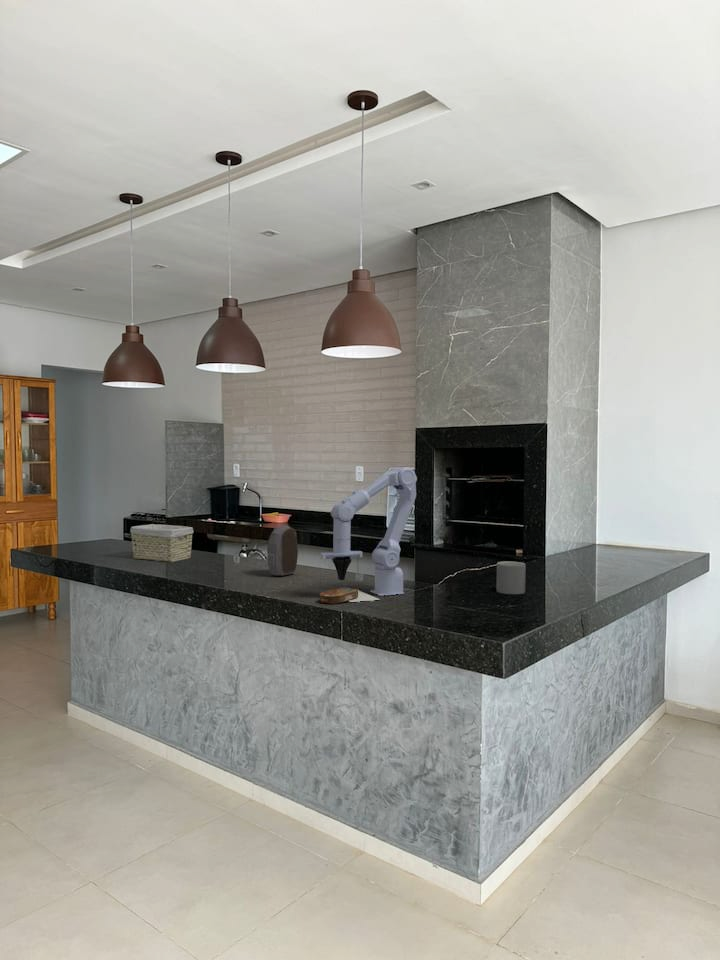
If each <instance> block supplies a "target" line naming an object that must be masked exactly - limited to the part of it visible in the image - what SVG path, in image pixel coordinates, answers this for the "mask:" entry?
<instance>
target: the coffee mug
mask: <svg viewBox="0 0 720 960" xmlns="http://www.w3.org/2000/svg"><path fill="white" fill-rule="evenodd" d="M495 590H496V592H497V593H500V594H504V595H522V594H525V593H526V563H525V562H521V561H519V562H518V561H511V560H510V561H507V560H506V561H498V562H496V589H495Z"/></svg>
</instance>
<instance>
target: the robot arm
mask: <svg viewBox="0 0 720 960" xmlns="http://www.w3.org/2000/svg"><path fill="white" fill-rule="evenodd" d="M417 481H418V477H417V475H416V473H415V472H414V470H413V469H412V468H410V467H396V466H395V467H392V468H390V469H389V470H387V471H385V472H384V473H383V474H382V475H381V476H380V477H378V478H376V480H374V481H373V482H372V483H371V484H370V485H368V486H367V487H366V488H364V490H363V489H358V490H356V489H355V490H353V491H352V494H350V495H349V496H348V497H347V498H343V499H341V502H338V503H336V504H334V505H333V506H332V509H331V510H330V516H331V517H332V518H333V526H332V527H333V533H332V535H333V538H332V539H333V540H332V542H333V543H332V544H333V547H332V551H328V552H320V559H321V560H329V559H330V560H331V561H332V563H333V564H334V567H335V569H336V573H337V578H338V580H340V581H345V579H346V575H347V571H348V569H349V566H350V565H351V563H352V558H363V551H361V550H351V530H352V529H351V528H352V527H351V523H352V521H351V520H353V518H354V515H355V514H356V513H357V512H359V511H360V510H362V509H363V508H364V507H365V506H367V505H369V503H370V498H372V497H373V496H375V495H377V494H378V493H379V492H381V491H383V490H384V489H386V488H387V487H393V488H394V489H395V490H396V491H397V495H398V496H399V497H398V500H397V503H396V505H395V508H394V510H393V513H392V516H391V519H390V520H389V521H390V522H389V524H388V527H387V530H386V532H385V535H384V538H383V539H381V540H380V541H379V543H378V544H377V546H376V548H375V549H374V550H373V551H372V553H371V559H372V562H373V563H374V589H373V590H370V591H369V593H372V594H374V595H376V594H377V595H376V596H379V597H383V596H384V595H385V596H395V595H396V594H398V595H405V592H404V572H403V570H402V568H401V567H398V565H399V563H400V553H401V550H402V549H401V547H400V544H399V543H400V542H401V539H402V535H403V534H404V530H405V527H406V525H407V522H408V519H409V516H410V513H411V511H412V508H413V507H414V503H415V501H416V498H417V487H416V486H417V484H416V483H417Z"/></svg>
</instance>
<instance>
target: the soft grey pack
mask: <svg viewBox="0 0 720 960" xmlns="http://www.w3.org/2000/svg"><path fill="white" fill-rule="evenodd" d="M266 548H267V550H266V554H267V566H268V571H269V574H270V575H272V576H278V577H279V576H280V577H282V576H287V575H291V574H294V573H295V572H296V570H297V564H298V556H299V555H298V554H299V546H298V539H297V532H296V530H295V529H294V528H293V527H290V526H289V525H286V524H281V525H280V526H277V527H275V528H274V529H273V530H272V532H271V533H270V535H269V538H268V541H267V547H266Z"/></svg>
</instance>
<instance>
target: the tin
mask: <svg viewBox="0 0 720 960" xmlns="http://www.w3.org/2000/svg"><path fill="white" fill-rule="evenodd" d="M358 590H359V588H358V587H354V586H342V587H336V588H333V589H329V590H326V591H323V592H320V593H319V600H320V602H321V603H324V604H330V605H332V604H333V605H335V604H342V603H345V602H347V601H349V600H352V599H355V598H357V597H358Z"/></svg>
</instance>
